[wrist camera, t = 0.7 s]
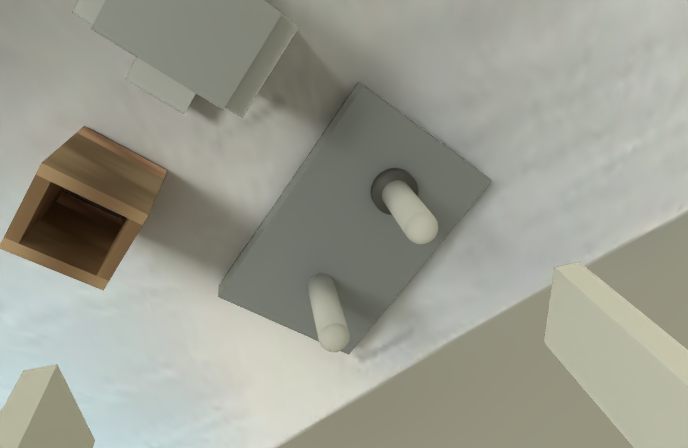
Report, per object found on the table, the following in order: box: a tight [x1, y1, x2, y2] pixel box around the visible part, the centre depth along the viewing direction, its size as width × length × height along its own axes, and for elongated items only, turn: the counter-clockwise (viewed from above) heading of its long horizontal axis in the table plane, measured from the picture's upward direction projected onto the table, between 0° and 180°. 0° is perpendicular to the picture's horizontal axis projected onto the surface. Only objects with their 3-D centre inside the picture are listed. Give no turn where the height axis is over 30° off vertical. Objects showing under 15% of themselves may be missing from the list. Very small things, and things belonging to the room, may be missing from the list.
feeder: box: [72, 0, 300, 118], centre depth 24 cm, size 8×8×9 cm
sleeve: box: [0, 126, 167, 290], centre depth 28 cm, size 5×5×7 cm
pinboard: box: [218, 82, 492, 354], centre depth 32 cm, size 12×18×8 cm, turn 144°
